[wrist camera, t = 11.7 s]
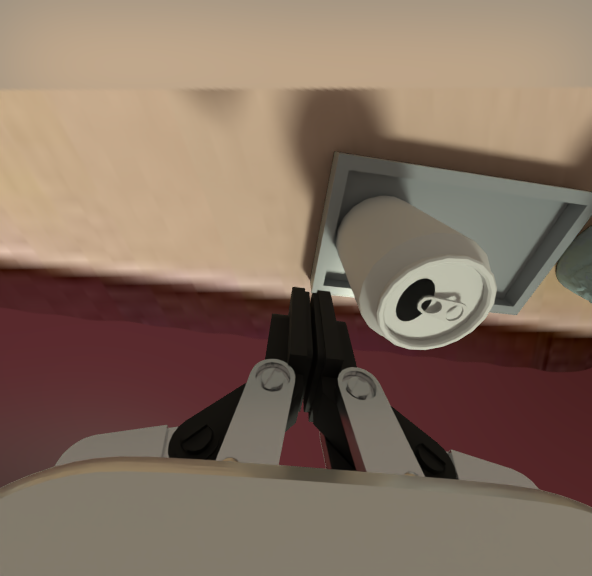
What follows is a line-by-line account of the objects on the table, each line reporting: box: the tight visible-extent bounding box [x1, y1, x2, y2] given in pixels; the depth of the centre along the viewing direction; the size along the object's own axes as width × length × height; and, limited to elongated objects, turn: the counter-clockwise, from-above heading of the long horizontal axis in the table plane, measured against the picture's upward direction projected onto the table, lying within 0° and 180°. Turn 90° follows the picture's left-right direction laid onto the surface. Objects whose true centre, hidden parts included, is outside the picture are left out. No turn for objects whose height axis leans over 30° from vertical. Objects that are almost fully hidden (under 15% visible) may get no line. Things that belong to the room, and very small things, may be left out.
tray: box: [310, 151, 592, 315], centre depth 24 cm, size 22×12×2 cm, turn 82°
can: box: [336, 196, 497, 350], centre depth 18 cm, size 8×8×12 cm
